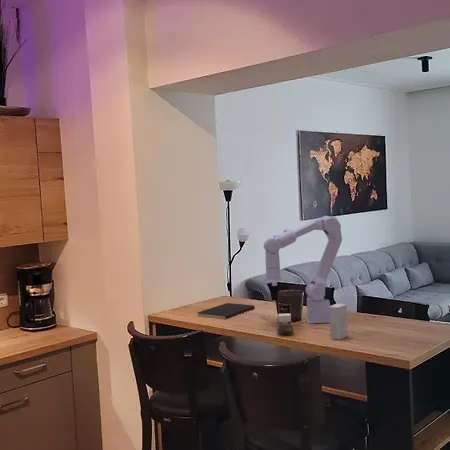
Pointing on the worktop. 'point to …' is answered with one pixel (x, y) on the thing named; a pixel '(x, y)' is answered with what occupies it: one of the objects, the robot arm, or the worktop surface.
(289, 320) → the rider
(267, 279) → the robot arm
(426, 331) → the worktop surface
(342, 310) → the skincare box
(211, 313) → the hardcover book
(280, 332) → the beam
